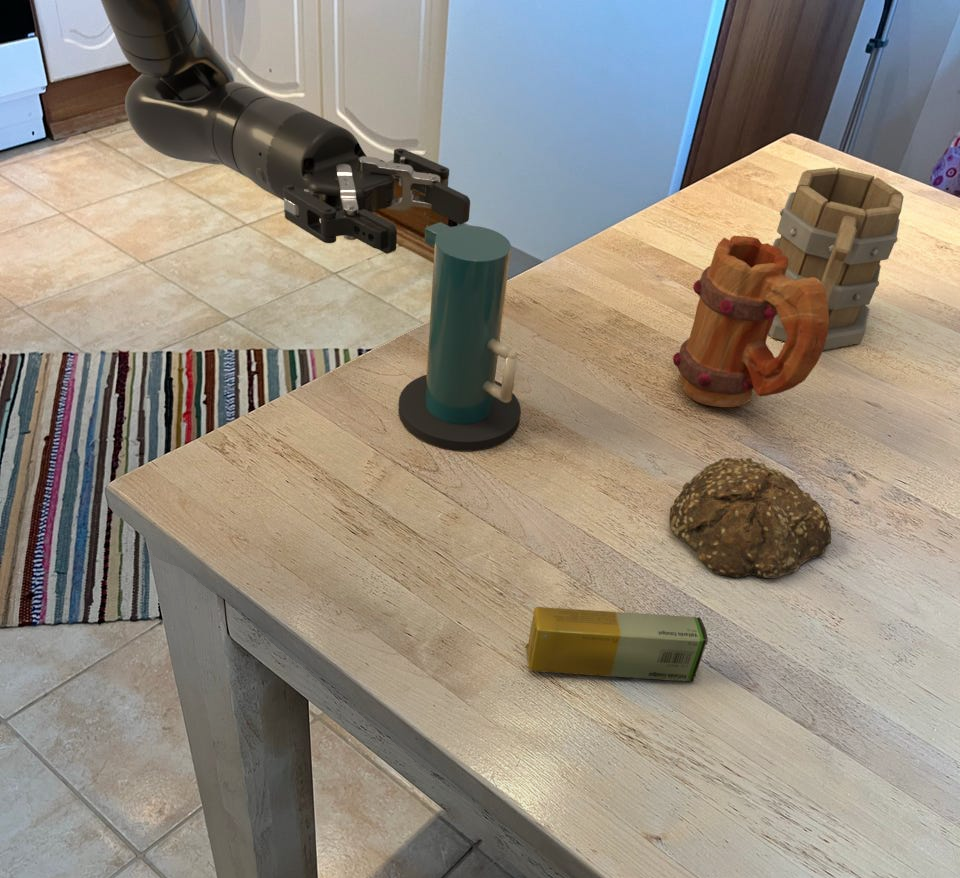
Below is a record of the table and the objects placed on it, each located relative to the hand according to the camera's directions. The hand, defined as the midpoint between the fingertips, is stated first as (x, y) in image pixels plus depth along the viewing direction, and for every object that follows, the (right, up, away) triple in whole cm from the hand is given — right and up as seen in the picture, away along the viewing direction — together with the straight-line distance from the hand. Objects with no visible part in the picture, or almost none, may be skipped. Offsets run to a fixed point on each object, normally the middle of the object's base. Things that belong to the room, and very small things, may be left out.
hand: (431, 226), depth 79 cm
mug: (+27, -11, +15) cm, 33 cm away
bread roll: (+26, -25, +2) cm, 36 cm away
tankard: (+38, -1, +25) cm, 46 cm away
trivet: (+2, -13, +10) cm, 16 cm away
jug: (+2, -12, +9) cm, 15 cm away
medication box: (+13, -35, -9) cm, 39 cm away
